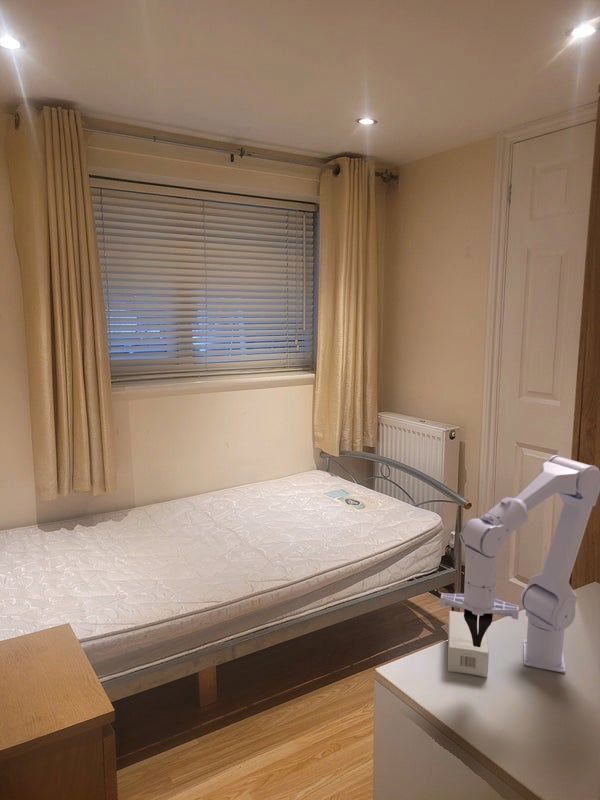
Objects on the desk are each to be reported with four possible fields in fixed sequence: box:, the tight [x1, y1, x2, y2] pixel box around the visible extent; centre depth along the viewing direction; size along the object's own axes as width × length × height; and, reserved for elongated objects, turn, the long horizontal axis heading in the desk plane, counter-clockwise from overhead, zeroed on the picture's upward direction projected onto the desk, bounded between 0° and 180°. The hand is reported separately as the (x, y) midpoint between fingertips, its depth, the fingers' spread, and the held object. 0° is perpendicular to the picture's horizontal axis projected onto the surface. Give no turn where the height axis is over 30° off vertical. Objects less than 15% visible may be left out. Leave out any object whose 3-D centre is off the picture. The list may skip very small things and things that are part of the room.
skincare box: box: [447, 610, 490, 678], centre depth 127 cm, size 8×6×15 cm
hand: (477, 644), depth 115 cm, fingers closed
